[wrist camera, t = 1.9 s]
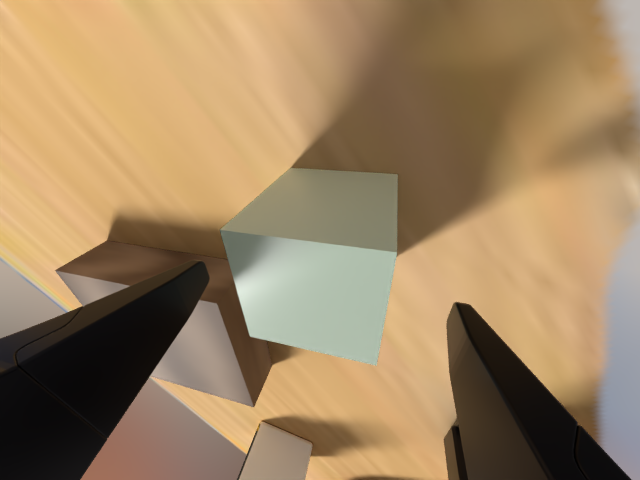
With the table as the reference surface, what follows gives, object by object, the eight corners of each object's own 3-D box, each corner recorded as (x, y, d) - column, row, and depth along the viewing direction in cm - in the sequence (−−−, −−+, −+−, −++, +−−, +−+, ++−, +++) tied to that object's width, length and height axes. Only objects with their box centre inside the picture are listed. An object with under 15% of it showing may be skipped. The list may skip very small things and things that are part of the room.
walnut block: (251, 259, 17) (216, 303, 14) (273, 361, 23) (253, 407, 20) (111, 237, 19) (55, 270, 16) (167, 334, 26) (134, 371, 23)
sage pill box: (397, 173, 11) (396, 252, 6) (384, 262, 14) (376, 365, 9) (290, 167, 12) (219, 229, 7) (298, 250, 15) (249, 336, 10)
